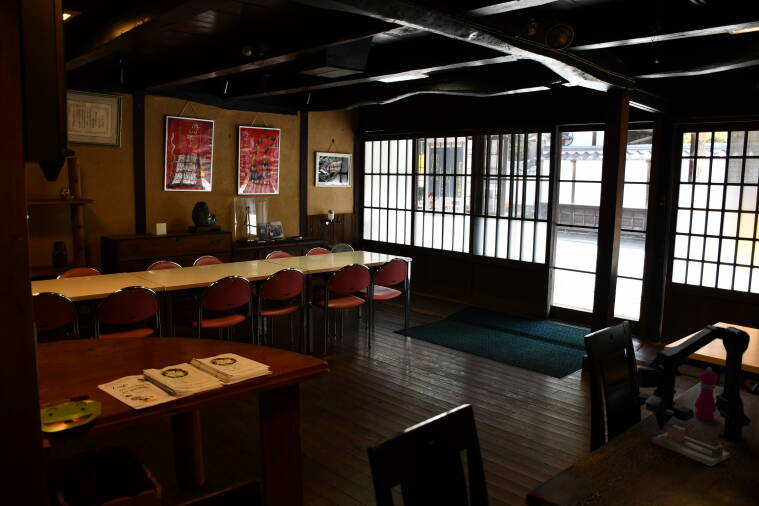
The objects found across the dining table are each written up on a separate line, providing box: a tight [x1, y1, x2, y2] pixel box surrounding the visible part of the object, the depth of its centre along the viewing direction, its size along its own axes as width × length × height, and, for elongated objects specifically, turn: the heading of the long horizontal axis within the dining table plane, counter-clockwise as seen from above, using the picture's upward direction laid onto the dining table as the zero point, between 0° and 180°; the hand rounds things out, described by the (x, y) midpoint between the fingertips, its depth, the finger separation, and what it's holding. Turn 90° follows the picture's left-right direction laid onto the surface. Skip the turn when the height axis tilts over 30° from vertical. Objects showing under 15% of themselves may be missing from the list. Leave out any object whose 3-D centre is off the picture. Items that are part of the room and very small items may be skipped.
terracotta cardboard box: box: [667, 424, 687, 442], centre depth 203 cm, size 4×4×4 cm
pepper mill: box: [694, 366, 718, 421], centre depth 226 cm, size 7×7×20 cm
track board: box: [651, 431, 731, 467], centre depth 199 cm, size 12×20×4 cm, turn 34°
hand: (661, 430), depth 207 cm, fingers closed
